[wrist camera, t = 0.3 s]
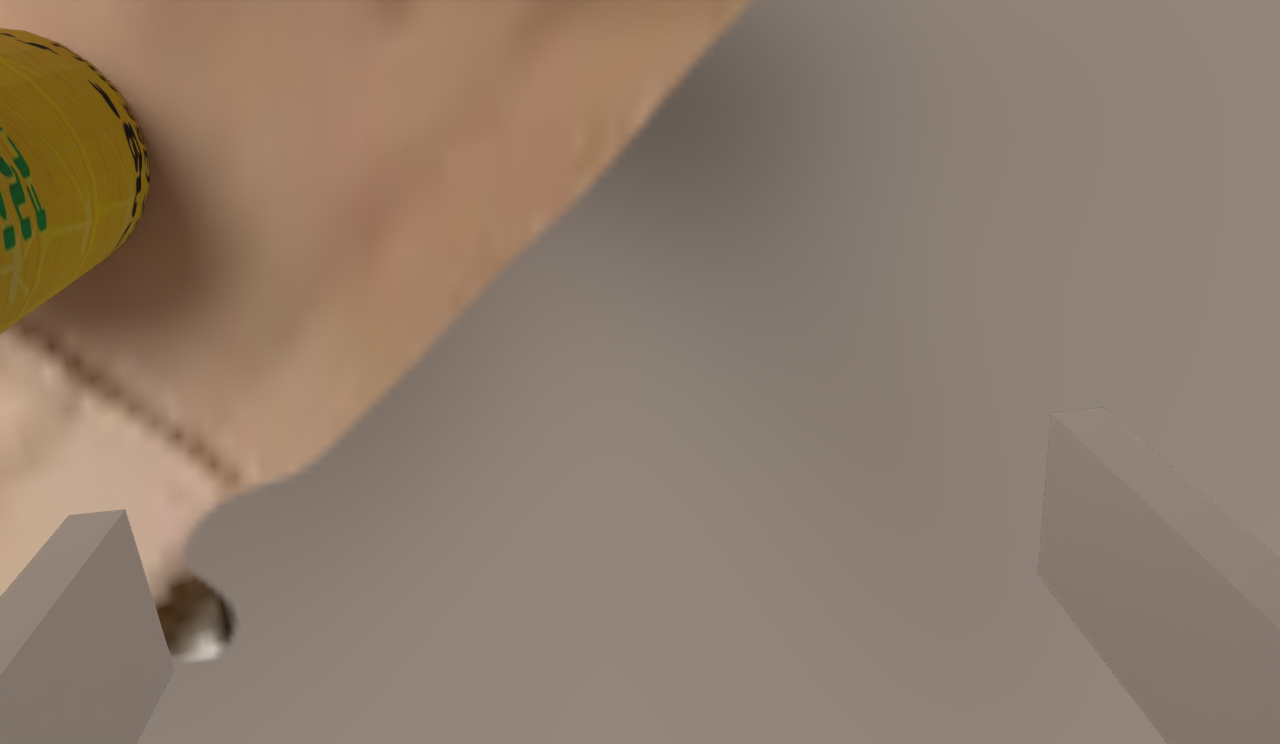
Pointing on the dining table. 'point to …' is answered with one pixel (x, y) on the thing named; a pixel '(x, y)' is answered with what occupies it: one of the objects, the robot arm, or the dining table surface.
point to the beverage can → (61, 171)
